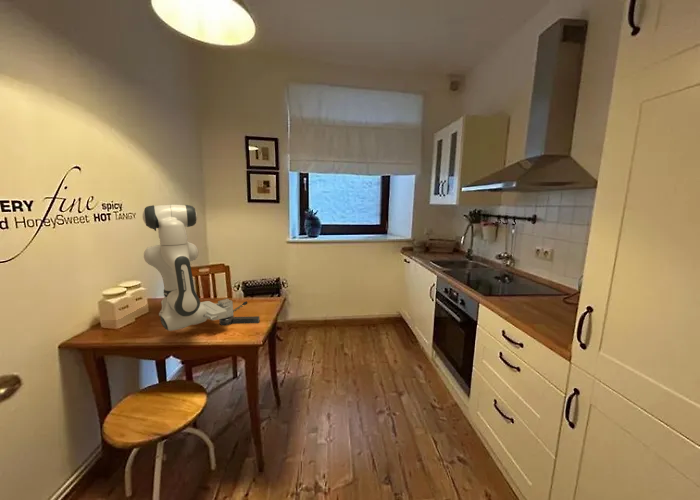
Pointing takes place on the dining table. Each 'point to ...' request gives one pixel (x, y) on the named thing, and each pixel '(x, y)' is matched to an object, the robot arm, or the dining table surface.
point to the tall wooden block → (224, 304)
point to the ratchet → (239, 320)
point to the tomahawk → (240, 306)
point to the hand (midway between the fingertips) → (227, 306)
